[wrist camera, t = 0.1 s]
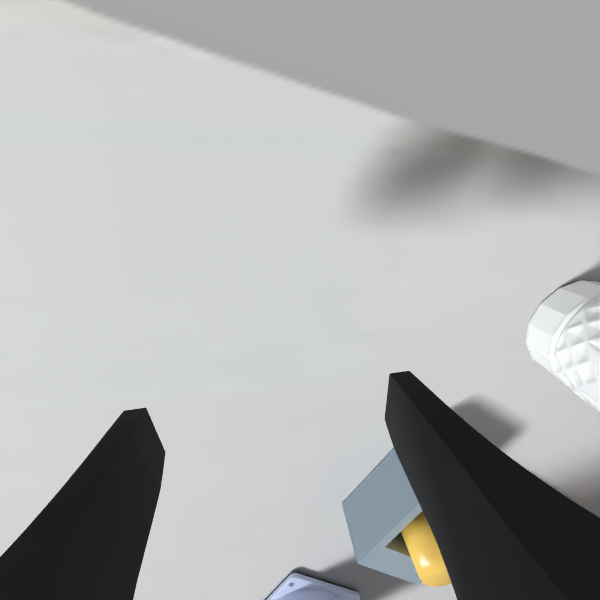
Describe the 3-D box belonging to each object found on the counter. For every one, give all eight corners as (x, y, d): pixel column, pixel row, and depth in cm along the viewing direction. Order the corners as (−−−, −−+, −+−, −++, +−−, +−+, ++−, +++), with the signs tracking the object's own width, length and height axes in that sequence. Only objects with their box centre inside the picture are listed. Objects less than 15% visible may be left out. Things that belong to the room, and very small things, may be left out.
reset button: (418, 530, 26) (446, 591, 22) (384, 516, 24) (407, 577, 21) (450, 500, 25) (484, 558, 21) (416, 484, 24) (445, 542, 20)
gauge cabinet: (395, 525, 29) (418, 585, 25) (341, 503, 27) (357, 563, 23) (466, 455, 27) (504, 507, 23) (413, 426, 25) (445, 477, 21)
